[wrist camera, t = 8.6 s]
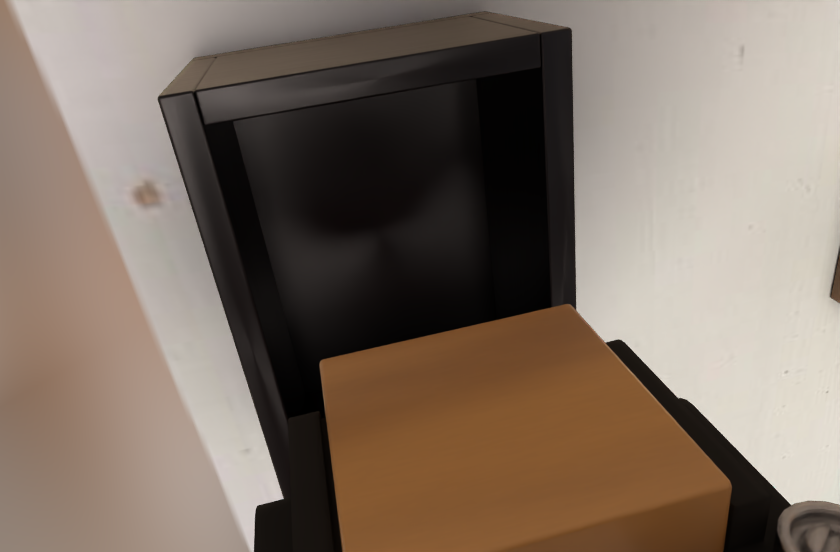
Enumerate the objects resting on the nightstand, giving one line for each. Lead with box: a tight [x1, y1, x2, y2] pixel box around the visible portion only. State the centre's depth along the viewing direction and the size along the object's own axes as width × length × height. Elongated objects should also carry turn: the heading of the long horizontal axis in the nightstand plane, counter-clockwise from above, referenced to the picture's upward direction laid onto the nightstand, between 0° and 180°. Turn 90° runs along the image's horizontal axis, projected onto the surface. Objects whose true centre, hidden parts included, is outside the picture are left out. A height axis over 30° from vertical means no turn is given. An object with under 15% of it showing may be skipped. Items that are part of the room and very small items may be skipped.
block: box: [319, 304, 732, 552], centre depth 10 cm, size 4×4×4 cm
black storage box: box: [158, 11, 576, 499], centre depth 20 cm, size 14×10×7 cm
